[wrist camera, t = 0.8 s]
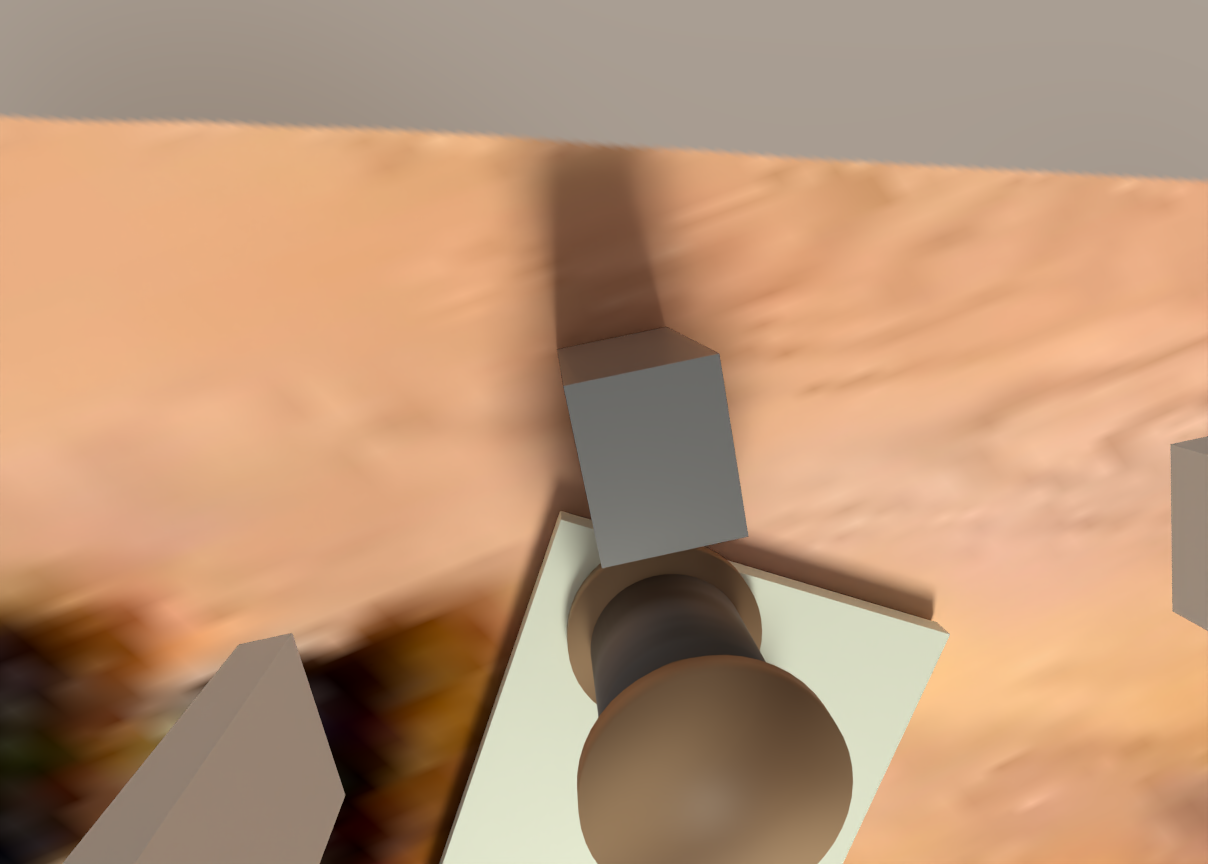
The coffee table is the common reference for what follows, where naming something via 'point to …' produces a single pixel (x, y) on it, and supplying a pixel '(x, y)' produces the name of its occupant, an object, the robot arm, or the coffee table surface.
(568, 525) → the board
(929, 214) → the coffee table surface
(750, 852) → the bobbin
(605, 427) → the gray rectangular block
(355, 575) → the coffee table surface
